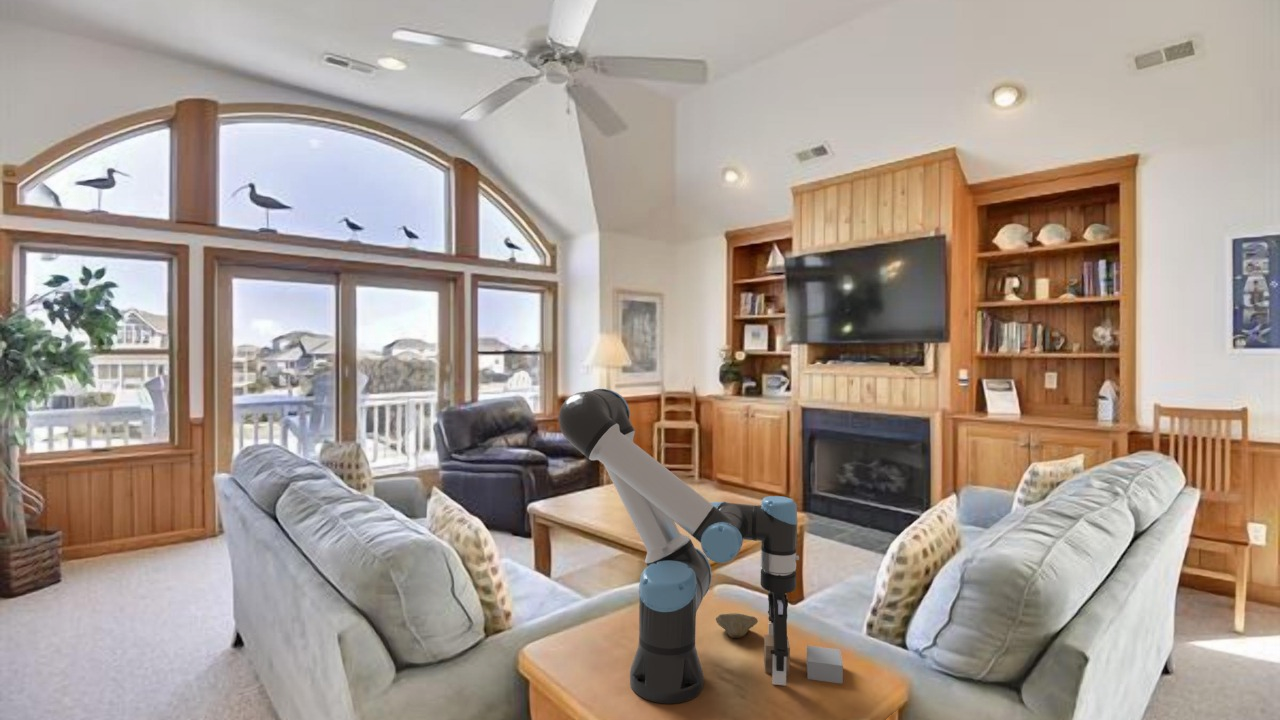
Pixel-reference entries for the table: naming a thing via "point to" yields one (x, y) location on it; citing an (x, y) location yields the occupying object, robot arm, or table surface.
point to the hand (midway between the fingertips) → (776, 667)
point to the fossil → (736, 623)
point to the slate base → (824, 664)
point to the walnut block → (769, 657)
